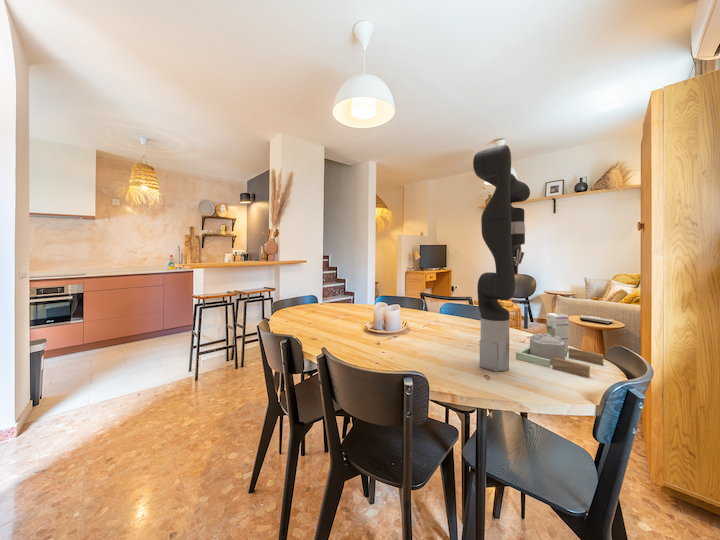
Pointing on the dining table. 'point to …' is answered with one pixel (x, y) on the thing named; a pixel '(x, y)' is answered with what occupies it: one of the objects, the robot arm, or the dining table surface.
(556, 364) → the chute
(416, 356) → the dining table surface
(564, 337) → the syrup box
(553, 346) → the lumpy-topped squat cylinder
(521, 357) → the green rectangular frame
